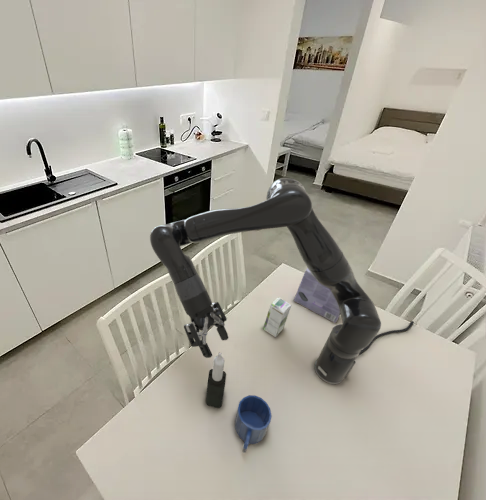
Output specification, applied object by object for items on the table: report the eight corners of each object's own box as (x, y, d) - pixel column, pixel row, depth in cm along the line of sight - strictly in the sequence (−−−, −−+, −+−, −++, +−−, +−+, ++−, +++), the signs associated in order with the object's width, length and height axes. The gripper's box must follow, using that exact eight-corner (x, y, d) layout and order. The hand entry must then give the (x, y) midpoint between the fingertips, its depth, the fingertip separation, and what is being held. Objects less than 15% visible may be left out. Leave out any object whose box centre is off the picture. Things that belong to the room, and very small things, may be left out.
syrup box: (270, 321, 115) (277, 296, 106) (283, 329, 112) (292, 304, 103) (262, 329, 112) (269, 304, 103) (276, 338, 108) (284, 313, 100)
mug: (239, 405, 88) (242, 390, 83) (268, 418, 86) (274, 403, 80) (227, 448, 79) (230, 434, 74) (259, 463, 76) (265, 450, 71)
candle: (221, 408, 88) (228, 363, 73) (205, 405, 88) (209, 359, 73) (223, 392, 92) (230, 346, 77) (207, 389, 92) (211, 343, 77)
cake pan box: (342, 318, 117) (357, 287, 106) (337, 325, 114) (353, 294, 103) (297, 295, 127) (308, 264, 116) (292, 301, 124) (303, 270, 113)
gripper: (186, 302, 68) (214, 363, 69) (216, 280, 79) (240, 332, 79) (166, 307, 73) (192, 364, 73) (197, 286, 84) (220, 335, 84)
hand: (217, 347), depth 76 cm, fingers open, 8 cm apart
